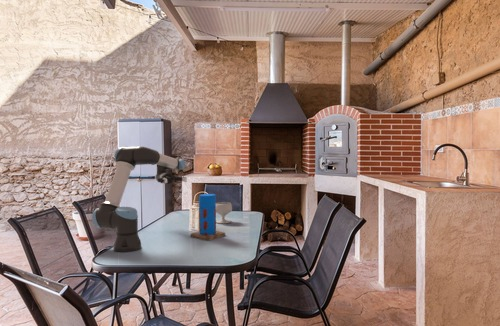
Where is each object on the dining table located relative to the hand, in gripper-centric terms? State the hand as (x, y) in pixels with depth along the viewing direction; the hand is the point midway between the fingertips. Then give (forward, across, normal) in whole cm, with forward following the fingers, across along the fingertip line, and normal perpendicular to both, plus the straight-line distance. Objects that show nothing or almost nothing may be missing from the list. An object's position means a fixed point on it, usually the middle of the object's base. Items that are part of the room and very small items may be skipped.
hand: (176, 180), depth 233 cm
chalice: (-16, -43, -36) cm, 59 cm away
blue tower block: (+18, -14, -34) cm, 41 cm away
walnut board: (+18, -14, -36) cm, 43 cm away
